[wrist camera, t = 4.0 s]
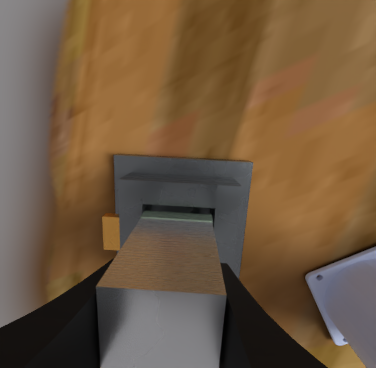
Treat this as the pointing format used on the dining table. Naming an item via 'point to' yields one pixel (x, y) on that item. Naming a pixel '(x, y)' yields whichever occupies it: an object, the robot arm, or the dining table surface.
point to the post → (163, 296)
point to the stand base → (181, 197)
